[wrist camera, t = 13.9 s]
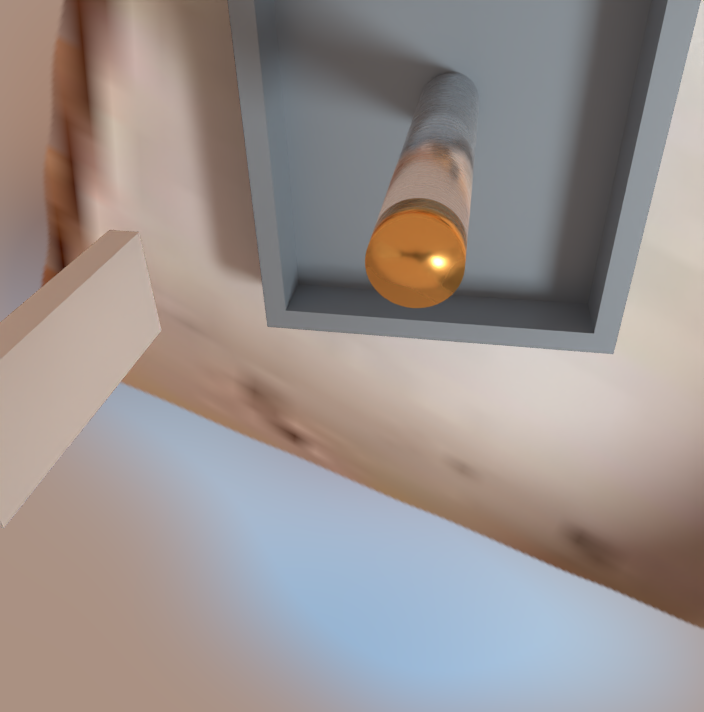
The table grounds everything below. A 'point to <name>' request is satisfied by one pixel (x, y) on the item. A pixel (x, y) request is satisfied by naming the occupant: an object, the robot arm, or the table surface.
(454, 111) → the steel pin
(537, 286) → the tray
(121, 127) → the table surface
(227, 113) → the table surface
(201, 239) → the table surface
